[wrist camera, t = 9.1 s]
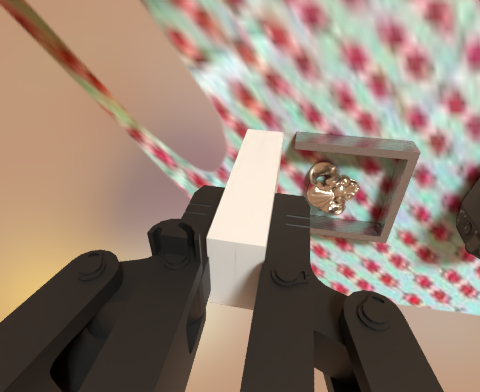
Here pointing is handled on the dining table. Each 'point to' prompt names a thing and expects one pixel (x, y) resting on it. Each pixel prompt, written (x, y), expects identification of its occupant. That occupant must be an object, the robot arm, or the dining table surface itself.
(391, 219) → the frame
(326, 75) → the dining table surface
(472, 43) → the dining table surface
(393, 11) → the dining table surface
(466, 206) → the camera
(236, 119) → the dining table surface
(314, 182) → the ornament
